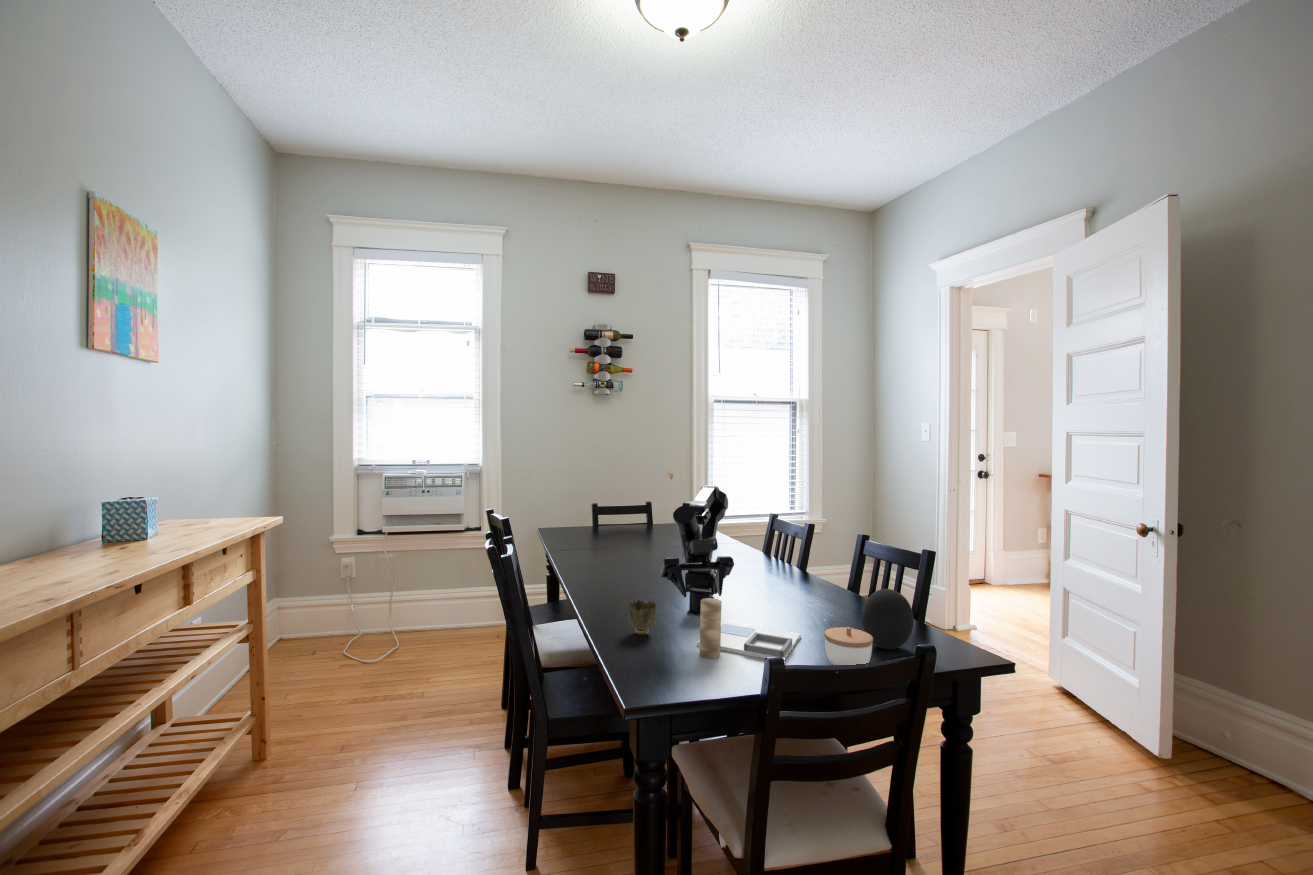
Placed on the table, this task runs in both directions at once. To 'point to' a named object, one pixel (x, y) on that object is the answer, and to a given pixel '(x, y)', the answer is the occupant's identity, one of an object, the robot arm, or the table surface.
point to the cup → (642, 616)
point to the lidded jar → (848, 646)
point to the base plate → (756, 640)
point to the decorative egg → (887, 618)
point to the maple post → (710, 628)
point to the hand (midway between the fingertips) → (703, 595)
